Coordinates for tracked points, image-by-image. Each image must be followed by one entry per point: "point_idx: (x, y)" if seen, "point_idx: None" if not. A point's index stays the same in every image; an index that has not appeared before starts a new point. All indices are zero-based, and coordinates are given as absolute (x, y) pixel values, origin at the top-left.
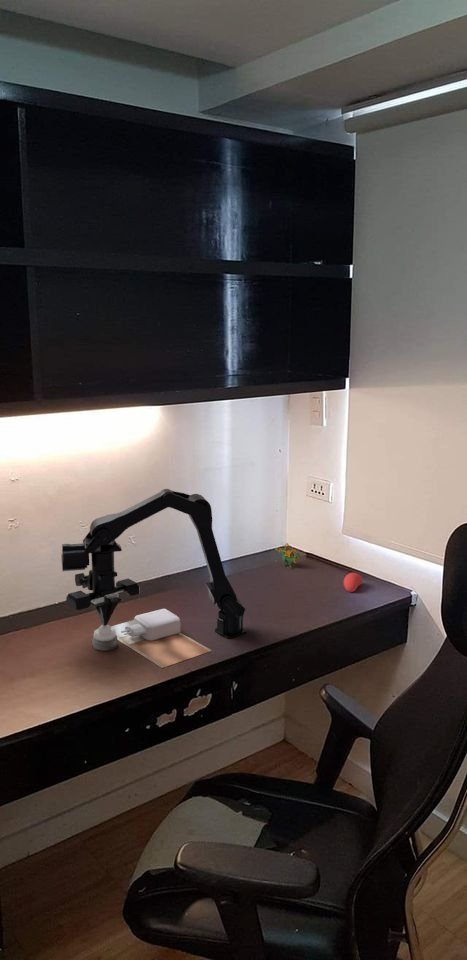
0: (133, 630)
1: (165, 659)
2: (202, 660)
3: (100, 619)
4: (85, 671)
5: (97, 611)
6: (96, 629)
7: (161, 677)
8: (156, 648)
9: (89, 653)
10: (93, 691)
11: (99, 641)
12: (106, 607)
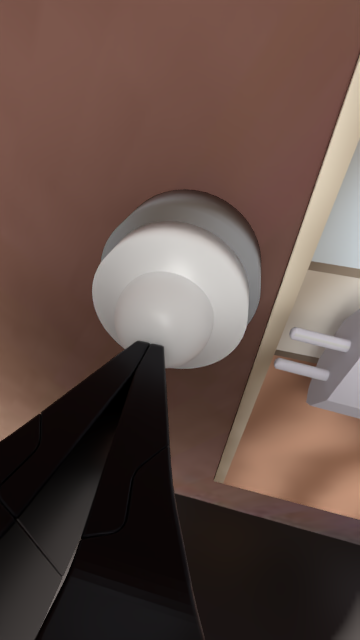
0: (326, 403)
1: (261, 475)
2: (327, 522)
3: (104, 365)
4: (21, 360)
5: (18, 439)
6: (140, 238)
7: (181, 488)
8: (316, 435)
9: (78, 275)
10: (17, 425)
11: None
12: (29, 625)
